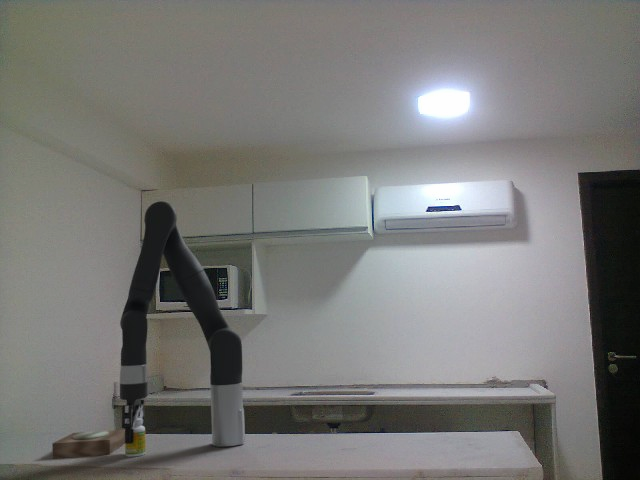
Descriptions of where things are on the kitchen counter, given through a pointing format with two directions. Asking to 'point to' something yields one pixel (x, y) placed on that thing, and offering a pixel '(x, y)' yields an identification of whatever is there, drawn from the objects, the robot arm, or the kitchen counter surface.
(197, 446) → the kitchen counter surface
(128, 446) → the supplement bottle
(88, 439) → the plinth
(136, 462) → the kitchen counter surface
